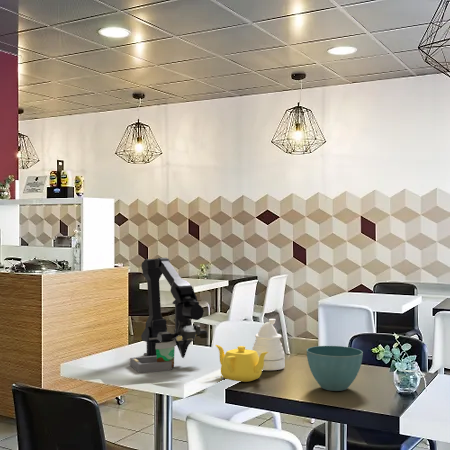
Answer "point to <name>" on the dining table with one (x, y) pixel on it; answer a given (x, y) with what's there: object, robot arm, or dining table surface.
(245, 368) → the teapot
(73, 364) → the dining table surface
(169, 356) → the food container
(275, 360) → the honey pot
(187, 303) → the robot arm
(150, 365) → the pocket bay
